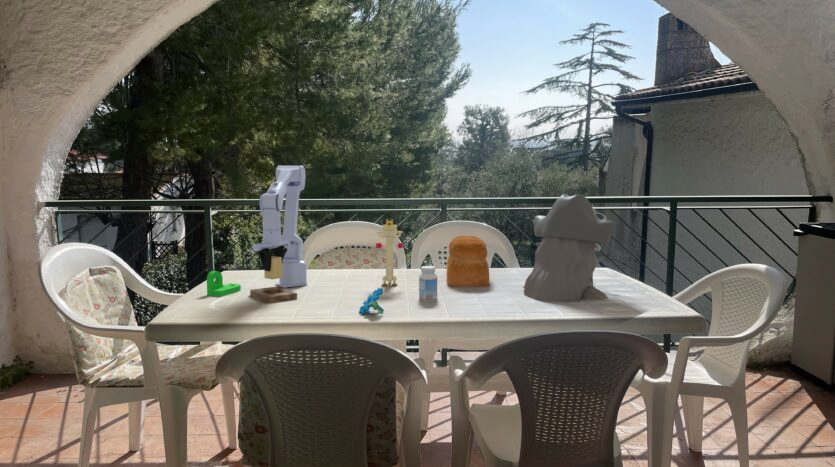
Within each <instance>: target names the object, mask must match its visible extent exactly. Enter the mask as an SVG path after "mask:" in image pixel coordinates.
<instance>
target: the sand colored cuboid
mask: <svg viewBox="0 0 835 467" xmlns="http://www.w3.org/2000/svg"><path fill="white" fill-rule="evenodd" d="M263 272H264V279H268V280H277V279H279V278H282V257H278V256H274V255H272V258H271V270H270V271H265V270H263Z"/></svg>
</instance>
